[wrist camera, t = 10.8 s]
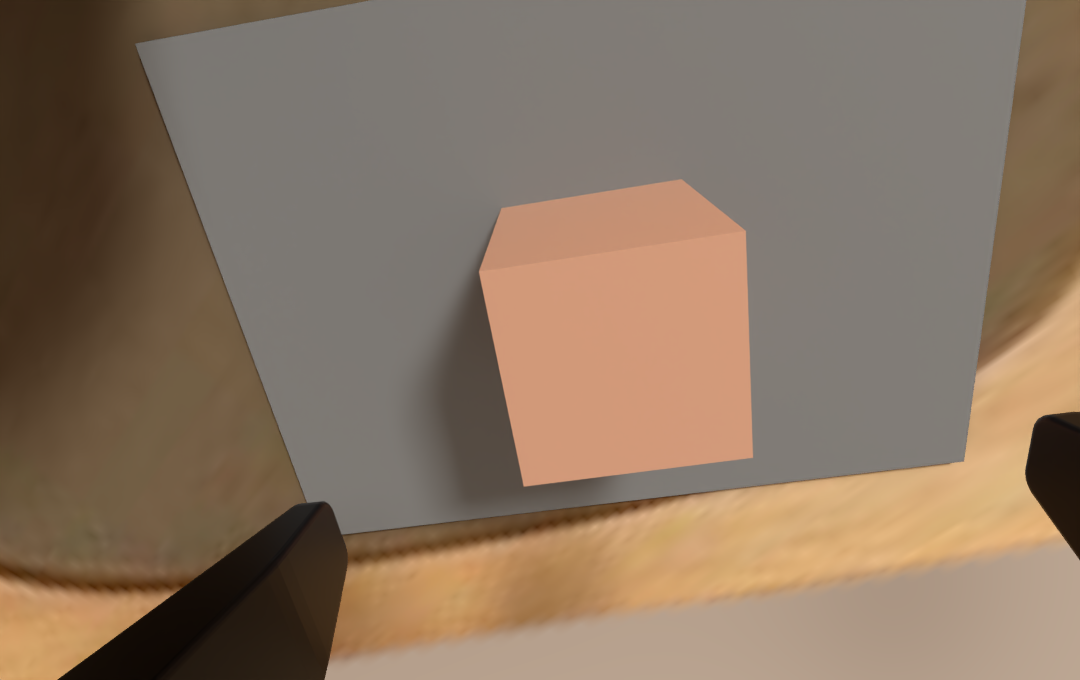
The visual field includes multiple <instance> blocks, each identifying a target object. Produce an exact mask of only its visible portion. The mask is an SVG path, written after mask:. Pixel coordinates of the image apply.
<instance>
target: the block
mask: <svg viewBox="0 0 1080 680" xmlns="http://www.w3.org/2000/svg"><path fill="white" fill-rule="evenodd" d="M479 275H480V280H481V284H482V289H483V294H484V299H485V303H486V308H487V313H488V318H489V322H490V327H491V332H492V337H493V342H494V346H495V351H496V356H497V361H498V365H499V370H500V375H501V380H502V385H503V389H504V394H505V399H506V404H507V408H508V413H509V418H510V423H511V427H512V432H513V437H514V442H515V447H516V451H517V456H518V461H519V466H520V470H521V475H522V480H523V485H524V487H525V486H533V485H541V484H549V483H557V482H565V481H572V480H580V479H588V478H596V477H604V476H612V475H620V474H628V473H636V472H644V471H652V470H660V469H668V468H676V467H684V466H692V465H700V464H708V463H716V462H723V461H731V460H739V459H747V458H753V442H752V410H751V378H750V347H749V315H748V284H747V252H746V231H745V230H744V229H743V228H742V227H740V226H739V225H738V224H737V223H735V222H734V221H733V220H732V219H731V218H729V217H728V216H727V215H726V214H724V213H723V212H722V211H721V210H719V209H718V208H717V207H716V206H714V205H713V204H712V203H711V202H709V201H708V200H707V199H706V198H704V197H703V196H702V195H701V194H699V193H698V192H697V191H696V190H694V189H693V188H692V187H691V186H689V185H688V184H687V183H686V182H685V181H683V180H682V179H679V180H673V181H667V182H661V183H655V184H648V185H642V186H636V187H630V188H624V189H617V190H611V191H605V192H599V193H593V194H586V195H580V196H574V197H568V198H562V199H555V200H549V201H543V202H537V203H530V204H524V205H518V206H512V207H506V208H501V211H500V214H499V216H498V219H497V222H496V225H495V228H494V230H493V233H492V236H491V239H490V242H489V245H488V247H487V250H486V253H485V256H484V259H483V262H482V264H481V267H480V270H479Z"/></svg>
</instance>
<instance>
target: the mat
mask: <svg viewBox="0 0 1080 680" xmlns="http://www.w3.org/2000/svg"><path fill="white" fill-rule="evenodd" d="M1025 6H1026V0H371V1H365V2H360V3H354V4H349V5H344V6H338V7H333V8H327V9H322V10H316V11H311V12H305V13H300V14H294V15H289V16H284V17H278V18H273V19H267V20H262V21H256V22H251V23H245V24H240V25H234V26H229V27H224V28H218V29H213V30H207V31H202V32H196V33H191V34H185V35H180V36H174V37H169V38H164V39H158V40H153V41H147V42H142V43H136V44H135V45H136V47H137V50H138V53H139V55H140V58H141V61H142V63H143V66H144V69H145V71H146V74H147V77H148V79H149V82H150V85H151V87H152V90H153V93H154V95H155V98H156V101H157V103H158V106H159V109H160V112H161V114H162V117H163V120H164V122H165V125H166V128H167V130H168V133H169V136H170V138H171V141H172V144H173V146H174V149H175V152H176V154H177V157H178V160H179V162H180V165H181V168H182V170H183V173H184V176H185V178H186V181H187V184H188V186H189V189H190V192H191V194H192V197H193V200H194V202H195V205H196V208H197V210H198V213H199V216H200V218H201V221H202V224H203V226H204V229H205V232H206V234H207V237H208V240H209V242H210V245H211V248H212V250H213V253H214V256H215V258H216V261H217V264H218V266H219V269H220V272H221V274H222V277H223V280H224V282H225V285H226V288H227V290H228V293H229V296H230V298H231V301H232V304H233V306H234V309H235V312H236V314H237V317H238V320H239V322H240V325H241V328H242V330H243V333H244V336H245V338H246V341H247V344H248V346H249V349H250V352H251V354H252V357H253V360H254V362H255V365H256V368H257V370H258V373H259V376H260V378H261V381H262V384H263V386H264V389H265V392H266V394H267V397H268V400H269V402H270V405H271V408H272V410H273V413H274V416H275V418H276V421H277V424H278V426H279V429H280V432H281V434H282V437H283V440H284V442H285V445H286V448H287V450H288V453H289V456H290V458H291V461H292V464H293V466H294V469H295V472H296V474H297V477H298V480H299V482H300V485H301V488H302V490H303V493H304V496H305V498H306V501H307V503H310V502H319V501H325V502H327V503H329V504H330V506H331V507H332V509H333V511H334V514H335V517H336V520H337V523H338V525H339V528H340V531H341V534H342V535H343V534H352V533H360V532H369V531H377V530H385V529H394V528H402V527H411V526H419V525H428V524H436V523H445V522H453V521H462V520H470V519H479V518H487V517H496V516H504V515H513V514H521V513H530V512H538V511H547V510H555V509H564V508H572V507H581V506H589V505H598V504H606V503H615V502H623V501H632V500H640V499H649V498H657V497H666V496H674V495H683V494H691V493H700V492H708V491H717V490H725V489H734V488H742V487H751V486H759V485H768V484H776V483H785V482H793V481H802V480H810V479H818V478H827V477H835V476H844V475H852V474H861V473H869V472H878V471H886V470H895V469H903V468H912V467H920V466H929V465H937V464H946V463H954V462H963V461H964V457H965V449H966V442H967V435H968V427H969V420H970V412H971V405H972V398H973V390H974V383H975V375H976V368H977V361H978V353H979V346H980V339H981V331H982V324H983V316H984V309H985V302H986V294H987V287H988V279H989V272H990V265H991V257H992V250H993V242H994V235H995V228H996V220H997V213H998V205H999V198H1000V191H1001V183H1002V176H1003V168H1004V161H1005V154H1006V146H1007V139H1008V131H1009V124H1010V117H1011V109H1012V102H1013V95H1014V87H1015V80H1016V72H1017V65H1018V58H1019V50H1020V43H1021V35H1022V28H1023V21H1024V13H1025ZM679 179H682V180H683V181H685V182H686V183H687V184H688V185H689V186H691V187H692V188H693V189H694V190H696V191H697V192H698V193H699V194H701V195H702V196H703V197H704V198H706V199H707V200H708V201H709V202H711V203H712V204H713V205H714V206H716V207H717V208H718V209H719V210H721V211H722V212H723V213H724V214H726V215H727V216H728V217H729V218H731V219H732V220H733V221H734V222H735V223H737V224H738V225H739V226H740V227H742V228H743V229H744V230H745V231H746V252H747V284H748V315H749V347H750V378H751V410H752V442H753V458H747V459H739V460H731V461H723V462H716V463H708V464H700V465H692V466H684V467H676V468H668V469H660V470H652V471H644V472H636V473H628V474H620V475H612V476H604V477H596V478H588V479H580V480H572V481H565V482H557V483H549V484H541V485H533V486H525V487H524V485H523V480H522V475H521V470H520V466H519V461H518V456H517V451H516V447H515V442H514V437H513V432H512V427H511V423H510V418H509V413H508V408H507V404H506V399H505V394H504V389H503V385H502V380H501V375H500V370H499V365H498V361H497V356H496V351H495V346H494V342H493V337H492V332H491V327H490V322H489V318H488V313H487V308H486V303H485V299H484V294H483V289H482V284H481V280H480V275H479V270H480V267H481V264H482V262H483V259H484V256H485V253H486V250H487V247H488V245H489V242H490V239H491V236H492V233H493V230H494V228H495V225H496V222H497V219H498V216H499V214H500V211H501V208H506V207H512V206H518V205H524V204H530V203H537V202H543V201H549V200H555V199H562V198H568V197H574V196H580V195H586V194H593V193H599V192H605V191H611V190H617V189H624V188H630V187H636V186H642V185H648V184H655V183H661V182H667V181H673V180H679Z"/></svg>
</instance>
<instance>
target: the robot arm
mask: <svg viewBox="0 0 1080 680" xmlns="http://www.w3.org/2000/svg"><path fill="white" fill-rule="evenodd" d="M1025 475H1026V481H1027V484H1028V487H1029V489H1030V491H1031V492H1032V494H1033V495H1034V497H1035V498H1036V500H1037V501H1038V502H1039V504H1040V505H1041V507H1042V508H1043V509H1044V511H1045V512H1046V514H1047V515H1048V516H1049V518H1050V519H1051V521H1052V522H1053V523H1054V525H1055V526H1056V528H1057V529H1058V530H1059V532H1060V533H1061V534H1062V536H1063V537H1064V539H1065V540H1066V541H1067V543H1068V544H1069V546H1070V547H1071V548H1072V550H1073V551H1074V553H1075V554H1076V555H1077V557H1078V558H1079V560H1080V412H1068V413H1060V414H1052V415H1045V416H1042V417H1041V418H1039V419H1038V420H1037V421H1036V423H1035V424H1034V428H1033V432H1032V438H1031V443H1030V448H1029V453H1028V459H1027V464H1026V470H1025ZM347 565H348V554H347V549H346V545H345V543H344V540H343V537H342V534H341V531H340V528H339V525H338V523H337V520H336V517H335V514H334V511H333V509H332V507H331V506H330V504H329V503H327V502H325V501H319V502H310V503H302V504H297V505H295V506H293V507H292V508H290V509H289V510H288V511H286V512H285V513H284V514H282V515H281V516H280V517H278V518H277V519H275V520H274V521H273V522H271V523H270V524H269V525H267V526H266V527H265V528H263V529H262V530H260V531H259V532H258V533H256V534H255V535H254V536H252V537H251V538H250V539H248V540H247V541H246V542H244V543H243V544H241V545H240V546H239V547H237V548H236V549H235V550H233V551H232V552H231V553H229V554H228V555H226V556H225V557H224V558H222V559H221V560H220V561H218V562H217V563H216V564H214V565H213V566H212V567H210V568H209V569H207V570H206V571H205V572H203V573H202V574H201V575H199V576H198V577H197V578H195V579H194V580H192V581H191V582H190V583H188V584H187V585H186V586H184V587H183V588H182V589H180V590H179V591H177V592H176V593H175V594H173V595H172V596H171V597H169V598H168V599H167V600H165V601H164V602H163V603H161V604H160V605H158V606H157V607H156V608H154V609H153V610H152V611H150V612H149V613H148V614H146V615H145V616H143V617H142V618H141V619H139V620H138V621H137V622H135V623H134V624H133V625H131V626H130V627H129V628H127V629H126V630H124V631H123V632H122V633H120V634H119V635H118V636H116V637H115V638H114V639H112V640H111V641H109V642H108V643H107V644H105V645H104V646H103V647H101V648H100V649H99V650H97V651H96V652H94V653H93V654H92V655H90V656H89V657H88V658H86V659H85V660H84V661H82V662H81V663H80V664H78V665H77V666H75V667H74V668H73V669H71V670H70V671H69V672H67V673H66V674H65V675H63V676H62V677H60V678H59V679H58V680H324V679H325V675H326V670H327V666H328V662H329V657H330V652H331V647H332V642H333V637H334V632H335V627H336V622H337V617H338V612H339V607H340V602H341V596H342V591H343V586H344V581H345V576H346V571H347Z"/></svg>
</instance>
